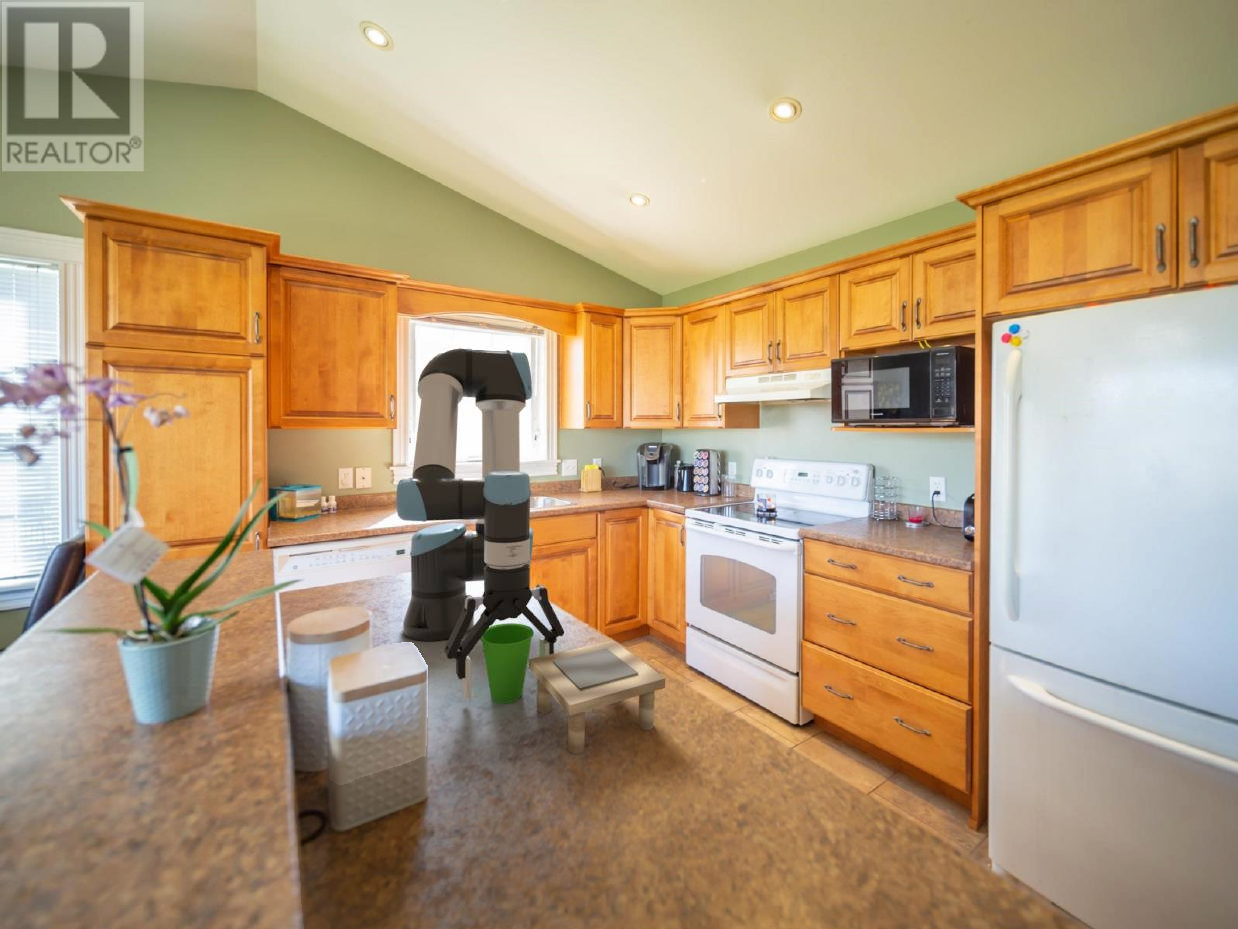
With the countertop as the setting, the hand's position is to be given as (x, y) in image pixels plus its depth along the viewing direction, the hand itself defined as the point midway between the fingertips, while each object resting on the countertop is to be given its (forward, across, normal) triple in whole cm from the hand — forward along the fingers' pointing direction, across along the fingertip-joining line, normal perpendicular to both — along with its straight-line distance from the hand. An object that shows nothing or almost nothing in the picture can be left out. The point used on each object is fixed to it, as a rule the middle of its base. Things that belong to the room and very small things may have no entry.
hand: (506, 685), depth 88 cm
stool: (+2, +10, -13) cm, 16 cm away
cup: (+2, 0, 0) cm, 2 cm away
